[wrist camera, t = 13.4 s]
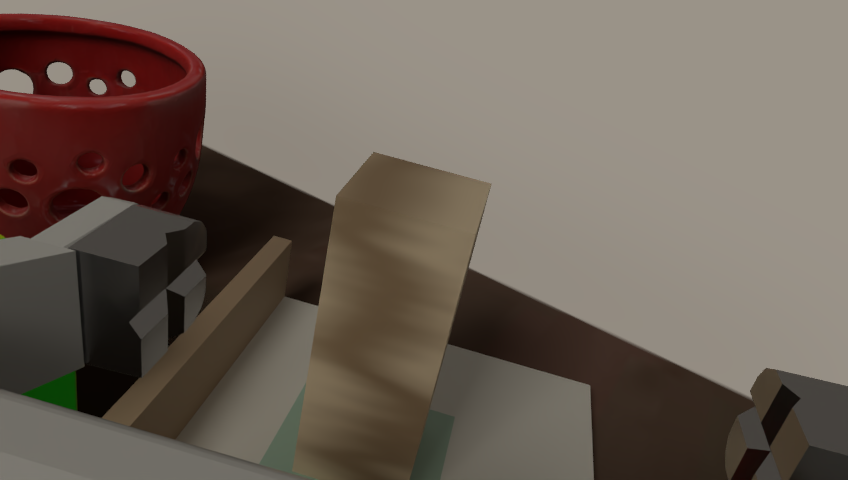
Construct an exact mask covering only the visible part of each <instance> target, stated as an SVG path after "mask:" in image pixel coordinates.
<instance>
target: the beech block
mask: <svg viewBox="0 0 848 480" xmlns="http://www.w3.org/2000/svg"><path fill="white" fill-rule="evenodd" d="M490 187H491V184H490V183H486V182H482V181H479V180H475V179H471V178H468V177H464V176H460V175H457V174H453V173H449V172H446V171H442V170H438V169H434V168H431V167H427V166H423V165H420V164H416V163H412V162H408V161H405V160H401V159H397V158H394V157H390V156H386V155H382V154H379V153H375V152H373V154H372V155H371V156H370V157H369V158H368V159H367V161H366V162H365V163H364V164H363V165H362V166H361V168H360V169H359V170H358V171H357V173H355V175H354V176H353V177H352V178H351V179H350V181H349V182H348V183H347V184H346V185H345V186H344V187H343V189H342V190H341V191H340V192H339V193H338V194H337V196H336V201H335V207H334V213H333V219H332V226H331V232H330V238H329V244H328V250H327V257H326V263H325V269H324V275H323V282H322V288H321V294H320V300H319V306H318V313H317V319H316V325H315V331H314V338H313V344H312V350H311V356H310V363H309V369H308V375H307V381H306V387H305V394H304V400H303V406H302V412H301V419H300V425H299V431H298V437H297V443H296V450H295V456H294V462H293V468H292V471H293V472H296V473H299V474H302V475H306V476H309V477H312V478H315V479H318V480H410V477H411V473H412V470H413V466H414V463H415V460H416V456H417V453H418V449H419V446H420V442H421V439H422V435H423V432H424V428H425V425H426V421H427V417H428V414H429V410H430V407H431V403H432V399H433V396H434V392H435V388H436V385H437V381H438V377H439V374H440V370H441V366H442V363H443V359H444V355H445V352H446V348H447V344H448V341H449V337H450V333H451V330H452V326H453V322H454V319H455V315H456V311H457V308H458V304H459V300H460V297H461V293H462V289H463V286H464V282H465V278H466V275H467V271H468V268H469V264H470V260H471V257H472V253H473V249H474V245H475V242H476V238H477V234H478V231H479V227H480V224H481V220H482V216H483V213H484V209H485V205H486V202H487V198H488V194H489V191H490Z"/></svg>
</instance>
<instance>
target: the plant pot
mask: <svg viewBox="0 0 848 480" xmlns="http://www.w3.org/2000/svg"><path fill="white" fill-rule="evenodd" d="M54 62H63V63H66V64H67V65H69V66H70V67H71V69H72V72H73V77H72V79H71V80H70V81H69V82H68V83H65V84H56V83H54V82H52V81H51V80H50V79H49V78H48V75H47V68H48V66H49V65H50V64H52V63H54ZM8 69H16V70H19V71H21V72H23V73H25V74H27V75H28V76H29V77H30V78H31V80H32V82H33V88H34V90H33V94H27V93H18V92H11V91H4V90H0V234H1V235H2V236H4V237H5V238H11V237H17V236H22V237H26V238H30V239H31V238H32V237H34V236H36V235H37V234H39V233H41V232H42V231H44V230H46V229H47V228H49V227H51V226H53V225H54V224H56V223H58V222H59V221H61V220H63V219H64V218H66V217H68V216H69V215H71V214H73V213H74V212H76V211H78V210H79V209H81V208H83V207H85V206H86V205H88V204H90V203H91V202H93V201H95V200H96V199H98V198H100V197H101V196H105V197H113V198H117V199H122V200H126V201H130V202H134V203H137V204H139V205H144V206H147V207H151V208H155V209H158V210H162V211H165V212H169V213H173V214H176V215H179V214H180V212H181V211H182V209H183V207H184V205H185V203H186V201H187V199H188V196H189V194H190V192H191V189H192V186H193V183H194V180H195V177H196V173H197V169H198V165H199V161H200V155H201V148H202V138H203V128H204V118H205V108H206V71H205V67H204V65H203V63H202V61H201V60H200V59H199V58H198V57H197V56H196V55H195V54H194V53H193V52H191V51H190V50H188V49H187V48H185V47H184V46H182V45H180V44H178V43H176V42H174V41H173V40H170V39H168V38H166V37H163V36H160V35H158V34H155V33H152V32H149V31H145V30H142V29H138V28H134V27H130V26H125V25H121V24H116V23H111V22H104V21H98V20H92V19H85V18H77V17H70V16H58V15H42V14H41V15H40V14H0V73H1V72H2V71H4V70H8ZM124 70H127V71H129V72H131V73H133V75H134V76H135V79H136V84H135V85H134V86H133V87H127V86H126V85H125V84H124V83H123V82H122V79H121V74H122V72H123V71H124ZM94 79H100V80H102V81H103V82H104V83H105V84H106V87H107V91H106V92H105V93H104V94H102V95H98V94H95V93H93V92H92V91H91V89H90V87H89V84H90V82H91V80H94Z"/></svg>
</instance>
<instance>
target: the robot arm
mask: <svg viewBox="0 0 848 480" xmlns="http://www.w3.org/2000/svg"><path fill="white" fill-rule="evenodd" d="M206 250H207V229H206V228H205V226H204V225H203V223H202V222H201V221H198V220H194V219H191V218H187V217H183V216H180V215H176V214H173V213H169V212H165V211H162V210H158V209H155V208H151V207H147V206H144V205H139V204H137V203H134V202H130V201H126V200H122V199H117V198H113V197H105V196H101V197H100V198H98V199H96V200H95V201H93V202H91V203H90V204H88V205H86V206H85V207H83V208H81V209H79V210H78V211H76V212H74V213H73V214H71V215H69V216H68V217H66V218H64V219H63V220H61V221H59V222H58V223H56V224H54V225H53V226H51V227H49V228H47V229H46V230H44V231H42V232H41V233H39V234H37V235H36V236H34V237H32V238H31V239H30V238H26V237H22V236H17V237H11V238H5V239H0V480H311V479H308V478H305V477H301V476H298V475H294V474H291V473H287V472H284V471H281V470H277V469H274V468H270V467H267V466H264V465H260V464H257V463H253V462H250V461H246V460H243V459H240V458H236V457H233V456H229V455H226V454H223V453H219V452H216V451H212V450H209V449H205V448H202V447H199V446H195V445H192V444H188V443H185V442H182V441H178V440H175V439H171V438H168V437H164V436H161V435H158V434H154V433H151V432H147V431H144V430H140V429H137V428H134V427H130V426H127V425H123V424H120V423H117V422H113V421H110V420H106V419H103V418H99V417H96V416H93V415H89V414H86V413H82V412H79V411H76V410H72V409H69V408H65V407H62V406H58V405H55V404H52V403H48V402H45V401H41V400H38V399H35V398H31V397H28V396H24V395H21V394H23V393H25V392H27V391H30V390H32V389H34V388H37V387H39V386H41V385H43V384H46V383H48V382H50V381H53V380H55V379H57V378H59V377H62V376H64V375H66V374H69V373H71V372H73V371H76V370H78V369H80V368H82V367H84V366H85V365H84V364H88V365H92V366H96V367H100V368H104V369H108V370H112V371H115V372H119V373H123V374H127V375H131V376H135V377H139V378H143V377H144V375H145V374H146V373H147V372H148V371H149V370H150V369H151V368H152V367H153V366H154V365H155V364H156V363H157V362H158V361H159V359H160V358H161V357H162V356H163V355H164V354H165V353H166V352H167V351H168V338H171V337H174V336H177V335H180V334H183V333H185V331H186V330H187V329H188V328H189V327H190V326H191V325H192V323H193V322H194V321H195V319H196V317H197V315H198V313H199V310H200V308H201V306H202V304H203V299H204V295H205V290H206V274H205V272H204V271H203V269H202V267H201V266H200V264H199V262H198V261H197V259H198V258H199V257H200V256H201V255H202V254H203V253H204V252H205V251H206ZM750 392H751V395H752V398H753V401H754V404H755V407H753V408H751V409H749V410H748V411H746V412H744V413H742V414H740V415H738V416H737V418H736V420H735V422H734V424H733V426H732V429H731V431H730V433H729V436H728V441H727V446H726V451H725V467H726V472H727V476H728V480H848V386H844V385H840V384H835V383H831V382H827V381H823V380H818V379H814V378H809V377H805V376H801V375H797V374H792V373H788V372H784V371H779V370H775V369H768V368H766V369H765V370H764V371H763V372H762V373H761V374H760V375H759V376H758V377H757V379H756V381H755V383H754V385H753V387H752V388H751V390H750Z"/></svg>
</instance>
